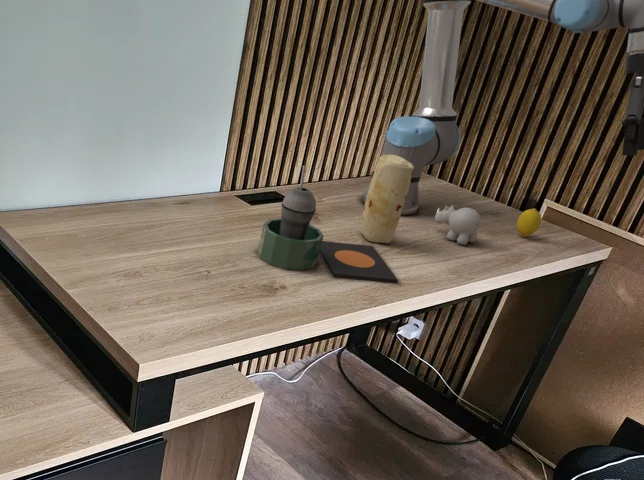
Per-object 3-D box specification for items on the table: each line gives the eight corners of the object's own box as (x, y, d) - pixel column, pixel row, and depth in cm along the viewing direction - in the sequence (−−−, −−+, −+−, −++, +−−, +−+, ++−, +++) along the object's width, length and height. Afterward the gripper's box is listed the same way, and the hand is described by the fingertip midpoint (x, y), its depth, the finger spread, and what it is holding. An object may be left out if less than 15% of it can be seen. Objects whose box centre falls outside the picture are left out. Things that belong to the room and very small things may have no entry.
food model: (397, 244, 167) (423, 162, 156) (381, 248, 163) (406, 165, 152) (365, 229, 173) (388, 150, 162) (348, 233, 169) (371, 152, 158)
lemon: (535, 242, 182) (548, 213, 177) (514, 238, 182) (526, 209, 178) (530, 235, 186) (542, 207, 182) (509, 231, 187) (521, 203, 183)
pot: (254, 243, 155) (260, 215, 152) (308, 248, 156) (315, 221, 153) (263, 266, 144) (269, 238, 141) (321, 272, 146) (329, 244, 142)
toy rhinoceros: (440, 226, 182) (450, 195, 178) (478, 244, 174) (490, 212, 170) (423, 229, 178) (433, 198, 174) (461, 247, 170) (473, 215, 166)
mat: (314, 243, 160) (315, 239, 159) (371, 249, 161) (372, 245, 161) (333, 276, 145) (334, 273, 144) (396, 283, 146) (398, 279, 146)
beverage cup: (282, 265, 146) (304, 173, 136) (264, 251, 151) (283, 162, 141) (310, 263, 149) (332, 172, 139) (290, 249, 155) (311, 161, 144)
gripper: (659, 49, 141) (645, 157, 147) (674, 51, 158) (661, 147, 165) (616, 54, 145) (604, 158, 152) (636, 55, 163) (625, 148, 170)
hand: (634, 152), depth 158 cm, fingers open, 13 cm apart
